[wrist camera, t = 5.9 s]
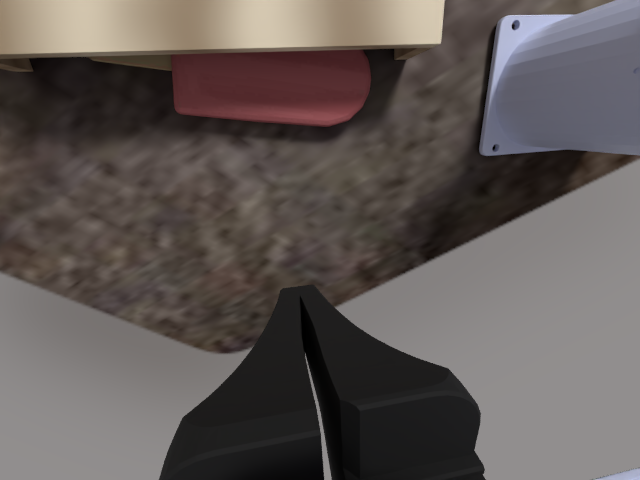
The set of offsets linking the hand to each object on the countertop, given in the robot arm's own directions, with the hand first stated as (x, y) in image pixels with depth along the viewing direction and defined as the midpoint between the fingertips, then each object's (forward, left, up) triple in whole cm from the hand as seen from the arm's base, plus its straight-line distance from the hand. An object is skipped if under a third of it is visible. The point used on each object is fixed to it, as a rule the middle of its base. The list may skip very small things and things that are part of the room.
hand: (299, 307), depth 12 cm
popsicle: (+2, -10, -10) cm, 14 cm away
